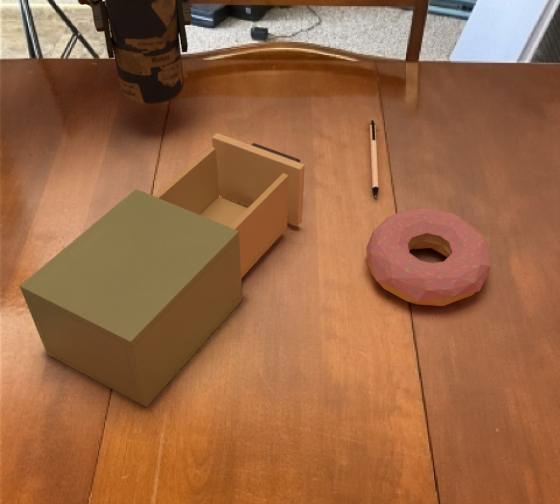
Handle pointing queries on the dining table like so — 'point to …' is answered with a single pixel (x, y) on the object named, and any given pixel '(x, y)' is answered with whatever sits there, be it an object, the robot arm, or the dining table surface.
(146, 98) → the canister
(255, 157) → the drawer
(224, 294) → the cabinet
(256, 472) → the dining table surface
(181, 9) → the robot arm
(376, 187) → the pen
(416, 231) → the donut
